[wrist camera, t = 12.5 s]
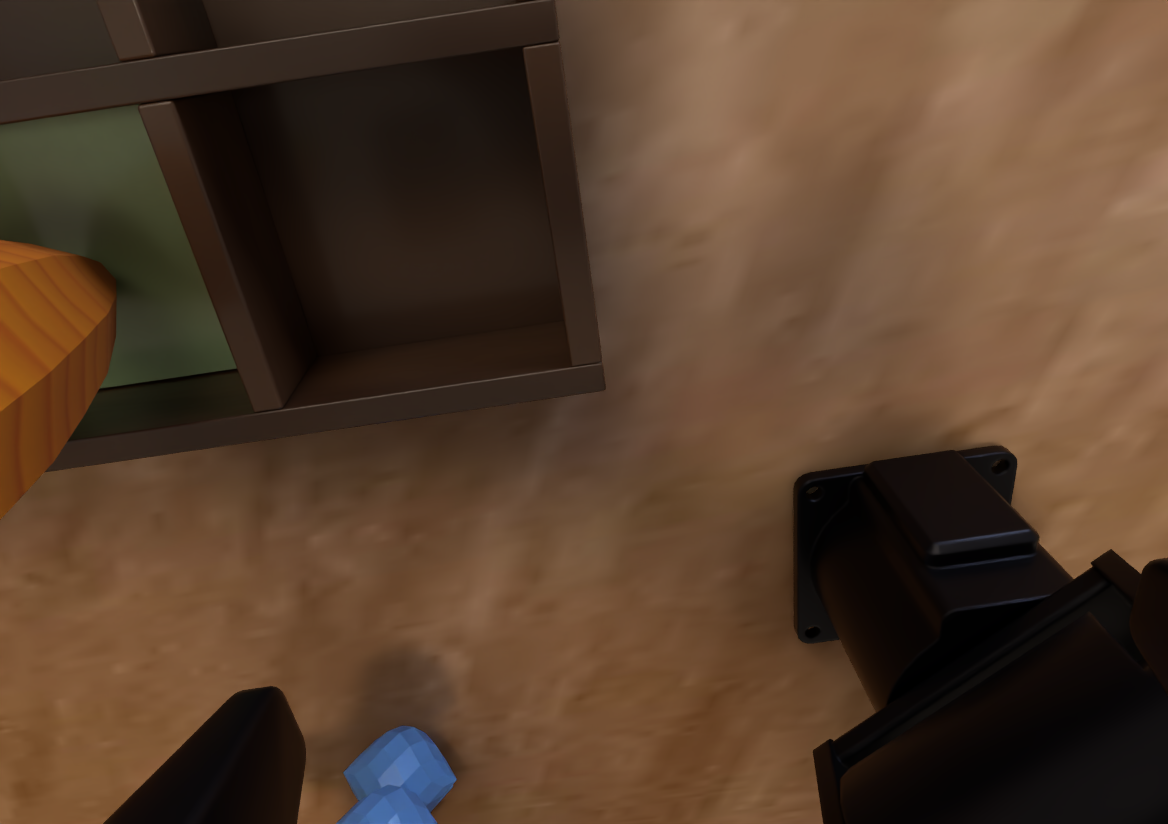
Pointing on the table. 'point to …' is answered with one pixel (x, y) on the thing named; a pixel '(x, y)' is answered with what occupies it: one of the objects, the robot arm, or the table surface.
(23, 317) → the carrot
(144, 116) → the wooden compartment organizer
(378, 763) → the grapes
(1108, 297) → the table surface
